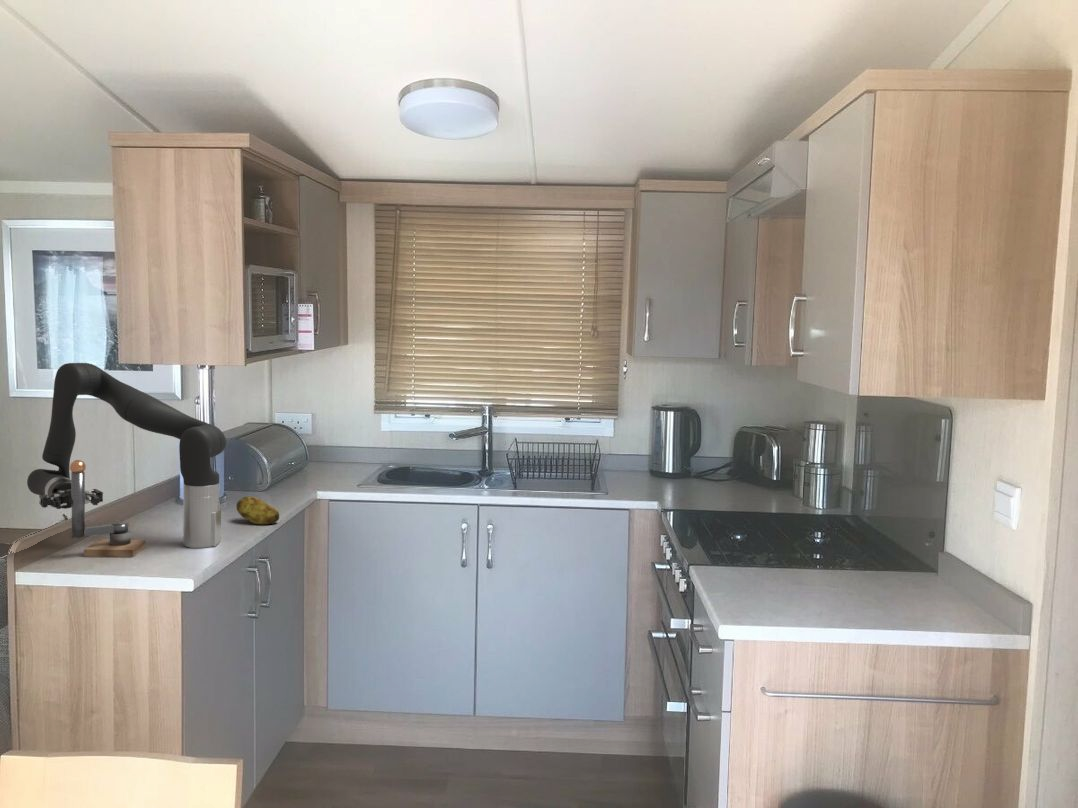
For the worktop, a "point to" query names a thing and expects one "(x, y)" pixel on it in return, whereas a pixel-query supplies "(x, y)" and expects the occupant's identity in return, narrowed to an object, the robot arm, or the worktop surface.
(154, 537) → the worktop surface
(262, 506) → the potato
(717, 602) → the worktop surface
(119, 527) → the lever
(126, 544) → the cracker base
